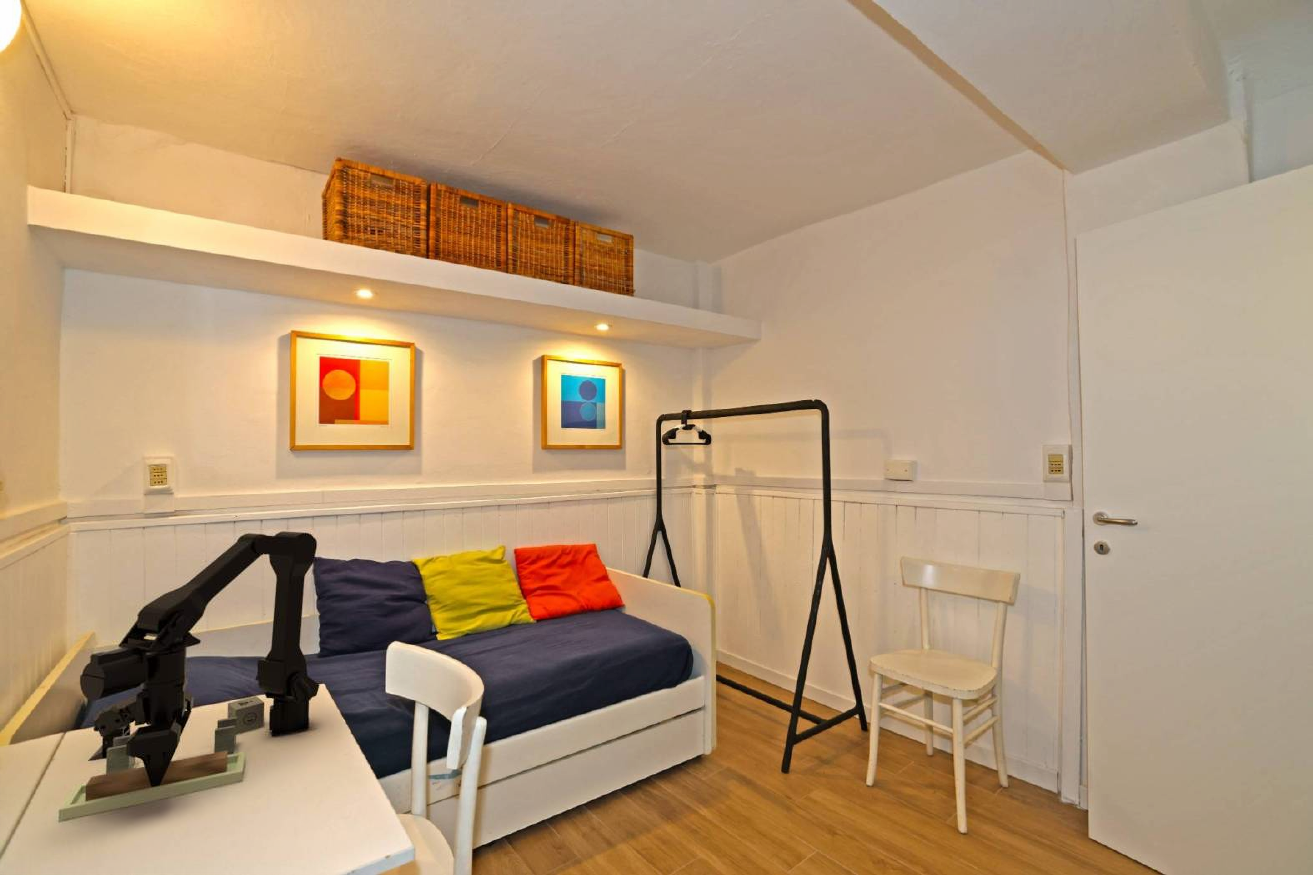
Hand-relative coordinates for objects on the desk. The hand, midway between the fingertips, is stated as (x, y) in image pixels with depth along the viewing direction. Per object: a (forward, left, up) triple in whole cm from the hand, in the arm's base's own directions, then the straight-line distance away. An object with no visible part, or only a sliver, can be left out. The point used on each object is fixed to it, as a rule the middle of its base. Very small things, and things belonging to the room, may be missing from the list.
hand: (161, 772), depth 102 cm
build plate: (+10, -22, -3) cm, 24 cm away
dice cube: (-10, -20, -3) cm, 23 cm away
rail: (0, 0, -2) cm, 2 cm away
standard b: (+7, -10, -2) cm, 13 cm away
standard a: (-8, -10, -2) cm, 13 cm away
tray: (0, 0, -2) cm, 2 cm away
